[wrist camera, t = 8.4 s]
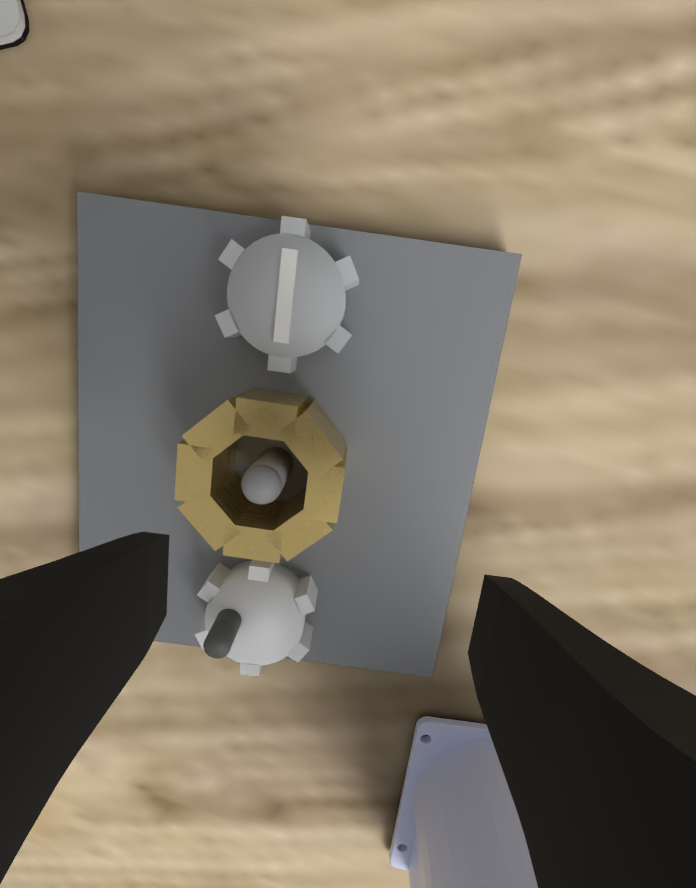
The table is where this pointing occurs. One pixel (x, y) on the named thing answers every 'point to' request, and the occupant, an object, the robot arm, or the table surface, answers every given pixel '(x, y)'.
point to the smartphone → (13, 23)
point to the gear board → (321, 378)
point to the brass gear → (219, 487)
